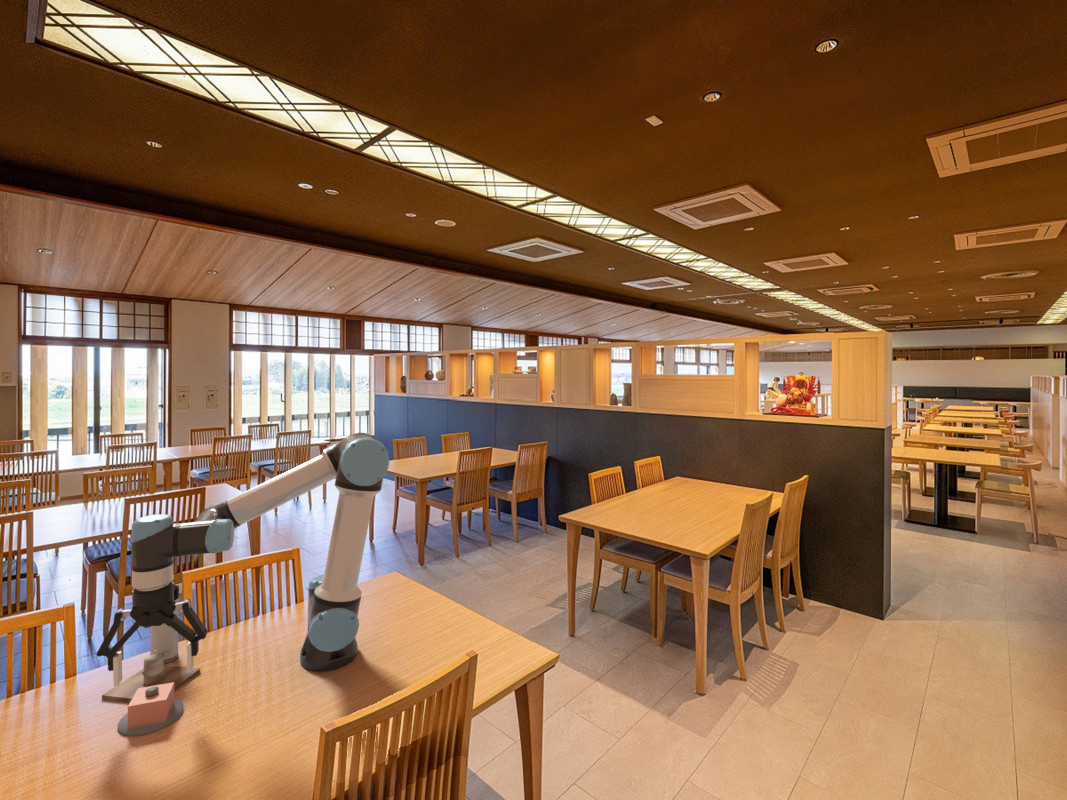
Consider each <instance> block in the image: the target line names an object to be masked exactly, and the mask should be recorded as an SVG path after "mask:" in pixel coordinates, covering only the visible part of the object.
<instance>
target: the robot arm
mask: <svg viewBox="0 0 1067 800" xmlns="http://www.w3.org/2000/svg"><path fill="white" fill-rule="evenodd" d="M389 465H390V456H389V452H388V449H387V448H386V446H385V445H384V444H383V443H382V442H381V440H379V439H377V438H376V437H375V436H373V435H371V434H369V433H366V432H356V433H352V434H350V435H349V436H347V437H345V438H343V439H341V440H340V441H338V442H336V443H334V444H332V445H330V446H328V447H325V448H323V451H322V453H321V454H320V455H318V456H315V457H314V458H311V459H310V460H307V461H306V462H303V463H301V464H299V465H297V466H295V467H293V468H292V469H289V470H287V471H284V472H283V473H280V474H279V475H275V476H274V477H272V478H270V479H268V480H265V481H264V482H262V483H259V484H258V485H255V486H254V487H252V488H249V489H247V490H244V491H243V492H241V493H239V494H237V495H235V496H233V497H231V498H229V499H227V500H224V501H223V502H221V503H217V504H212V505H209V506H207V507H206V508H205V509H203V510H202V511H201V512H200V513H199V515H198V517H197V518H196V520H195V521H192V522H191V521H190V522H176V523H175V521H174V520H173V517H172V516H171V515H170V514H165V513H164V514H161V513H160V514H151V515H144V516H142V517H138V518H137V519H135V520H134V521H133V522H132V524H131V531H130V532H131V536H130V550H131V587H132V588H133V589H132V590H131V592H132V593H131V594H132V595H131V599H132V608H131V609H125V608H124V607H120V608H119V609H118V610H117V611H116V612H115V613H114V617H113V623H112V624H111V627H110V629H109V630H108V632H107V634H106V636H105V637H104V638H103V639H104V640H103V641H102V643H101V645H100V646H99V649H98V650H97V651H96V654H95V655H96V656H97V657H106V658H107V670H108V671H109V672H112V671H113V688H114V687H116V686H118V685H119V684H120V683H122V681H123V653H122V652H123V651H122V650H120V649H121V648H122V646H123V645H124V644H125V643H126V642H127V641H128V640H129V639H130V638H131V637H132V636H133V634H134V633H135V632H137V630H138V629H139V628H140V627H143V628H144V629H147V628H151V626H161V625H162V624H164V623H165V624H166V625H167V626H170V627H172V628H173V629H174V630H175V631H177V632H178V635H181V636H182V637H183V638H185V640H187V641H188V642H187V645H186V667H187V673H189V672H191V671H192V669H193V668H195V667H194V665H195V661H194V659H195V656H197V655H198V653H199V650H200V649H199V642H200V641H201V640H204V639H205V638H206V637H207V635H208V632H209V631H208V629H207V627H206V626H205V625H204V623H203V622H202V620H201V619H200V617H199V616H198V614H197V613H196V611H195V610H194V608H193V605H192V601H191V599H190V598H186V599H185V600H184V601H179V603H176V602H175V601H174V584H175V582H174V581H173V580H174V577H175V576H174V558H175V557H187V556H195V555H206V554H217V553H222V552H227V551H229V550H231V549H232V547H233V546H234V545H233V544H234V541H235V540H234V539H235V529H237V528H239V527H240V526H242V525H244V524H246V523H248V522H250V521H252V520H254V519H256V518H258V517H260V516H262V515H264V514H266V513H268V512H270V511H273V510H274V509H276V508H278V507H280V506H283V505H284V504H286V503H288V502H290V501H292V500H294V499H296V498H298V497H300V496H302V495H305V494H306V493H308V492H310V491H312V490H315V489H317V488H319V487H320V486H322V485H324V484H327V483H328V482H331V481H333V480H334V481H335V482H334V487H335V488H336V489H337V490H338V492H339V494H338V499H337V504H336V509H335V513H334V521H333V526H332V531H331V535H330V541H329V546H328V553H327V558H326V564H325V568H324V573H323V574H321V575H317V576H315V577H313V578H311V579H310V580H309V582H308V588H307V591H308V597H307V598H308V599H307V604H308V605H307V631H306V632H307V633H306V635H305V638H304V641H303V644H302V647H301V648H300V649H301V650H300V654H299V655H300V656H299V663H300V665H301V666H302V667H303V668H305V669H306V670H309V671H316V672H323V671H325V672H326V671H331V670H336V669H338V668H339V669H340V668H341V667H344V666H346V665H348V664H349V663H351V662H352V661H354V659H356V657H357V656H358V648H359V647H358V642H357V638H356V636H357V634H358V632H359V627H360V620H359V611H360V610H359V609H360V606H361V605H360V604H361V599H362V594H363V591H362V590H361V588H359V586H358V583H359V576H360V572H361V567H362V560H363V556H364V550H365V547H366V539H367V536H368V535H367V534H368V528H369V525H370V519H371V513H372V507H373V502H374V498H375V496H376V495H377V494H378V493H380V492H381V491H382V488H383V487H382V486H383V483H384V482H383V481H384V477H385V476H386V474H387V472H388V470H389ZM175 609H179V612H180V613H183V615H184V617H185V619H186V620H187V621H188V623H189V625H190V626H191V627H190V626H188V624H186V623H185V622H184V621H183V620H181V619H180V618H178V617H177V616H176V615H175V614H174V613H173V612H174V611H175ZM129 616H130V617H131V619H132V620H133V621H134V622H133V624H132V625H131V626H130V627H129V628H128V629H127V630H126V632H124V633H123V635H122V636H121V637H120V638H119V639H118V641H116V643H114V645H113V646H112V647H109V646H110V644H111V643H112V641H113V639H114V637H115V635H116V634H117V632H118V630H119V629H120V626H121V625H122V623H123V621H126V620H127V618H128V617H129Z"/></svg>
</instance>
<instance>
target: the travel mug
mask: <svg viewBox="0 0 1067 800" xmlns="http://www.w3.org/2000/svg"><path fill="white" fill-rule="evenodd" d="M179 592H180V586H179V585H176V584H175V585H174V601H175V602H176V603H179V602H180V596H179V594H180V593H179ZM179 612H180V610H179V609H175V611H174V612H173V613H174V614H175V615H176V616H177V617H178V618H179V617H180V613H179ZM179 619H180V618H179ZM149 638H150V639H149V640H150V641H149V642H150V643H149V644H150V645H149V647H150V648H149V649H150V651H149V656H150V655H153V654H163V655H164V665H167V664H170V663H171V662H172V661H174V660H176V659H177V658H178V656H179V633H178V632H177V631H175V630H174V629H173V628H172V627H170V626H167V625H166V624H165V623H164V624H162V625H161V626H151V627H150V637H149ZM155 650H156V651H155ZM150 652H151V653H150Z"/></svg>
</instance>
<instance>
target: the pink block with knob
mask: <svg viewBox="0 0 1067 800" xmlns="http://www.w3.org/2000/svg"><path fill="white" fill-rule="evenodd" d="M174 699H175V691H174V682H173V683H167V684H161V685H155V686H149V687H143V688H138V689H137V691H136V693H135V695H134V697H133V698H132V700H131V702H130V703H129V704H128V706H127V713H128V729H129V728H134V727H140V726H145V725H150V724H155V723H160V722H165V721H166V720H167V718H168V716H169V713H170V711H171V709H172V706H173V704H174Z"/></svg>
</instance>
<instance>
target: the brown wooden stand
mask: <svg viewBox="0 0 1067 800" xmlns="http://www.w3.org/2000/svg"><path fill="white" fill-rule="evenodd" d="M200 673H201V667H200V668H199V667H193V669H192V671H191V672H189V673H187V666H182V665H180V666H177V665H173V664H172V665H171V664H164V655H163V654H153V655H150V654H149V655H148V656H146V657H145V658H144V659H143V669H141V670H140V671H138V672H136V673H135V674H133V675H132V676H130V677H129V678H126V679H125V680H124V681H121V682H120V684H119V685H118V686H115V687H114V686H113V688H111V689H109V690H108V691H107V692H105V693H103V694H102V695H101V700H104V701H113V702H122V703H129V704H130V702H131V700H132V698H133V697H134V695H135V693H136V691H137V689H138V688H143V687H149V686H155V685H161V684H167V683H173V682H174V692H176V690H179V688H181V687H182V686H184V685H185V684H186V683H188V682H189V681H191V680H192V679H193V678H195V677H196V676H198V675H199V674H200Z"/></svg>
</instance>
